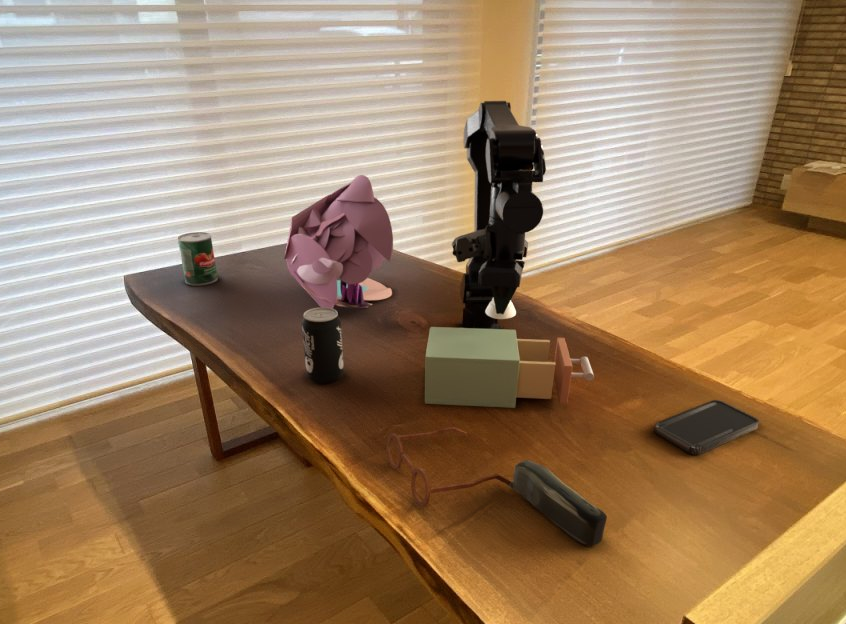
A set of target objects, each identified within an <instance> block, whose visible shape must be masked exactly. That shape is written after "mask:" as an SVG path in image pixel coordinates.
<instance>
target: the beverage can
mask: <svg viewBox="0 0 846 624" xmlns="http://www.w3.org/2000/svg"><path fill="white" fill-rule="evenodd" d="M301 330H302V331H301V332H302V341H303V353H304V363H305V372H306V377H307V378H308V379H310V381H311V382H314V383H316V384H319V385H320V384H324V385H326V384H327V385H328V384H332V383H335V382H337V381H339V380H340V379H341V377H342V376H343V375H344V373H345V369H344V366H345V365H344V353H343V352H344V351H343V350H344V349H343V336H342V335H343V334H342V321H341V318H340V317H339V314H338V310H336V309H334V308H333V309H332V308H327V307H320V306H319V307H314V308H310V309H307V310H306V311H304V312H303V319H302V321H301Z"/></svg>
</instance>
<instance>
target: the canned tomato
mask: <svg viewBox="0 0 846 624" xmlns="http://www.w3.org/2000/svg"><path fill="white" fill-rule="evenodd" d="M176 240H177V244H178V250H179V255H180V260H181V264H182V265H181V266H182V270H183V271H182V272H183V276H184V283H186V284H187V285H189V286H196V287H198V286H206V285H210V284H214V283H215V282H217V281H218V279H219V277H218V271H217V264H216V258H215V252H214V246H213V240H212V234H211V233H209V232H203V231H194V232H188V233H183V234H181V235H179V236H177V237H176Z"/></svg>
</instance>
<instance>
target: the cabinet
mask: <svg viewBox="0 0 846 624" xmlns="http://www.w3.org/2000/svg"><path fill="white" fill-rule="evenodd" d="M429 327H430V328H429V332H428V339H427V345H426V352H425V358H424V360H425V361H424V362H425V363H424V364H425V367H424V371H425V372H424V404H426V405H428V404H429V405H447V406H468V407H470V406H471V407H487V408H488V407H489V408H490V407H492V408H509V409H510V408H511V409H515V408H516V405H517V404H516V403H517V397H516V394H517V383H518V373H519V362H520V360H519V352H518V345H517V339H518V338H517V330H516V329H507V328H506V329H505V328H504V329H503V328H502V329H477V328H464V327H450V326H449V327H448V326H447V327H445V326H444V327H443V326H429Z"/></svg>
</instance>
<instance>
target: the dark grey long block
mask: <svg viewBox="0 0 846 624" xmlns="http://www.w3.org/2000/svg"><path fill="white" fill-rule="evenodd" d="M507 486H508V487H510V488H511V489H512V490H514V491H515V492H516V493H518V494H519V495H520V496H521V497H522V498H523V499H524V500H526V501H528V502H529V503H530V505H532V507H534V508H535V509H537V510H538V511H539V512H541V513H542V514H543V515H544V516H545V517H547V518H548V519H549V520H550V521H551V522H553V524H555V525H556V526H557V527H558V528H560V529H561V530H562V531H563V532H565V533H566V534H567V535H568V536H569V537H570V538H571V539H573V540H574V541H576V542H577V543H579V544H580V545H583V546H587V547H593V546H597V545H598V544H600V543H601V542H602V541H603V536H604V533H605V527H606V523H607V520H608V517H607V514H606V513H605V512H604V511H603V510H602V509H600V508H599V507H597V506H595V505H594V504H592V503H591V502H590V501H589V500H587V499H586V498H584V497H583V496H582V495H581V494H580V493H578V492H577V491H575V490H574V489H572V488H571V487H569V485H567V484H566V483H564V482H563V481H562V480H561V479H560V478H559V477H558V476H556V475H555V473H553V472H552V471H551V470H550V469H548V468H547V467H546V466H545V465H542V464H539V463H536V462H533V461H531V460H529V459H525V460H522V461H521V462H519V463H517V464H516V465H515V466H514V470H513V479H512V482H511V483H510V484H509V485H507Z"/></svg>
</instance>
